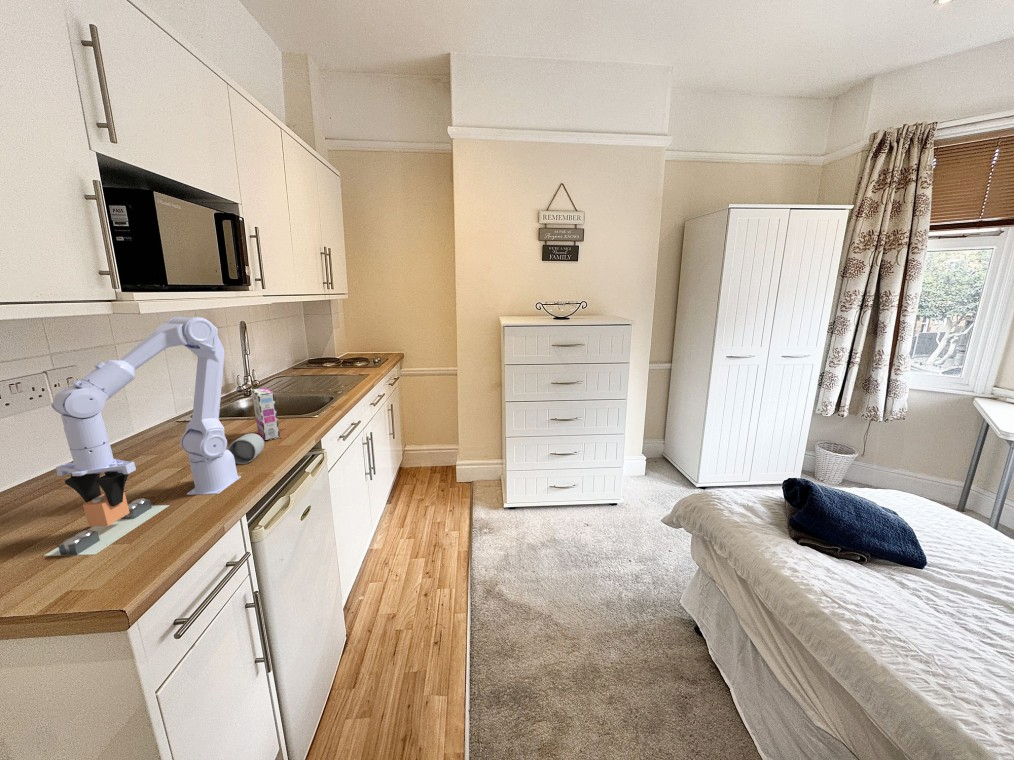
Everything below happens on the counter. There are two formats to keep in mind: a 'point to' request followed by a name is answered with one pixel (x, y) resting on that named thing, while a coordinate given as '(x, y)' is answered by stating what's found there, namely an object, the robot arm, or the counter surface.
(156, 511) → the mat
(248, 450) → the ceramic mug
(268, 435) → the candy bar box
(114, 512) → the orange block with knobs
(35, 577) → the counter surface
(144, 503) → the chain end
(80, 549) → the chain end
